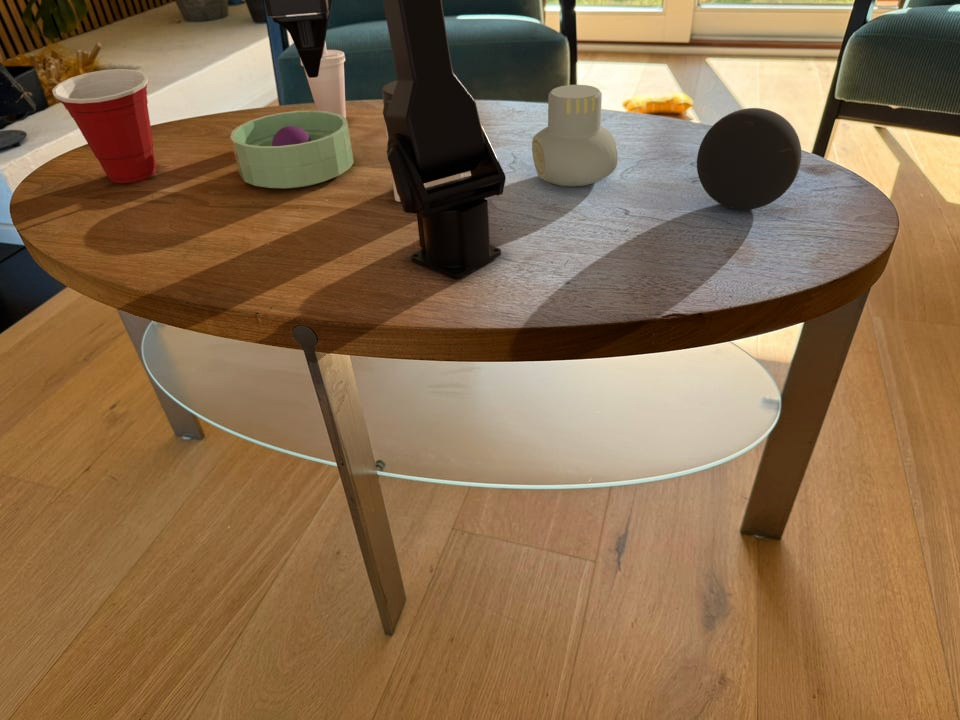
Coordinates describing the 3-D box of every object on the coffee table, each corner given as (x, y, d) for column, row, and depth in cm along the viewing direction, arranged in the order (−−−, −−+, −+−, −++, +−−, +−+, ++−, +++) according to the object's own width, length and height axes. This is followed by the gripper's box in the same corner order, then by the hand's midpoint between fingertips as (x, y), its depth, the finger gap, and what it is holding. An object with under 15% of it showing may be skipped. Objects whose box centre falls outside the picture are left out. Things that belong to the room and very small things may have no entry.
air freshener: (620, 192, 80) (627, 101, 74) (549, 200, 79) (549, 109, 73) (593, 158, 89) (597, 75, 83) (529, 165, 88) (528, 82, 82)
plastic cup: (83, 198, 87) (43, 97, 80) (92, 169, 95) (56, 75, 88) (176, 183, 89) (145, 84, 82) (177, 156, 98) (148, 64, 91)
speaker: (702, 182, 81) (714, 92, 75) (795, 194, 77) (816, 99, 71) (681, 217, 74) (693, 120, 68) (783, 232, 70) (805, 130, 64)
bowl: (376, 165, 91) (370, 122, 88) (284, 202, 83) (274, 156, 79) (310, 144, 99) (302, 104, 96) (220, 176, 91) (208, 133, 87)
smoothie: (346, 130, 103) (329, 26, 95) (305, 129, 104) (285, 26, 96) (360, 116, 108) (346, 16, 100) (321, 116, 109) (303, 17, 101)
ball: (324, 164, 90) (317, 124, 88) (291, 175, 87) (283, 135, 85) (301, 157, 93) (293, 119, 90) (269, 168, 90) (260, 128, 88)
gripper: (225, -87, 83) (257, 55, 92) (194, -74, 68) (235, 94, 77) (321, -93, 83) (343, 48, 93) (312, -82, 68) (339, 85, 77)
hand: (315, 67), depth 85 cm, fingers open, 9 cm apart
